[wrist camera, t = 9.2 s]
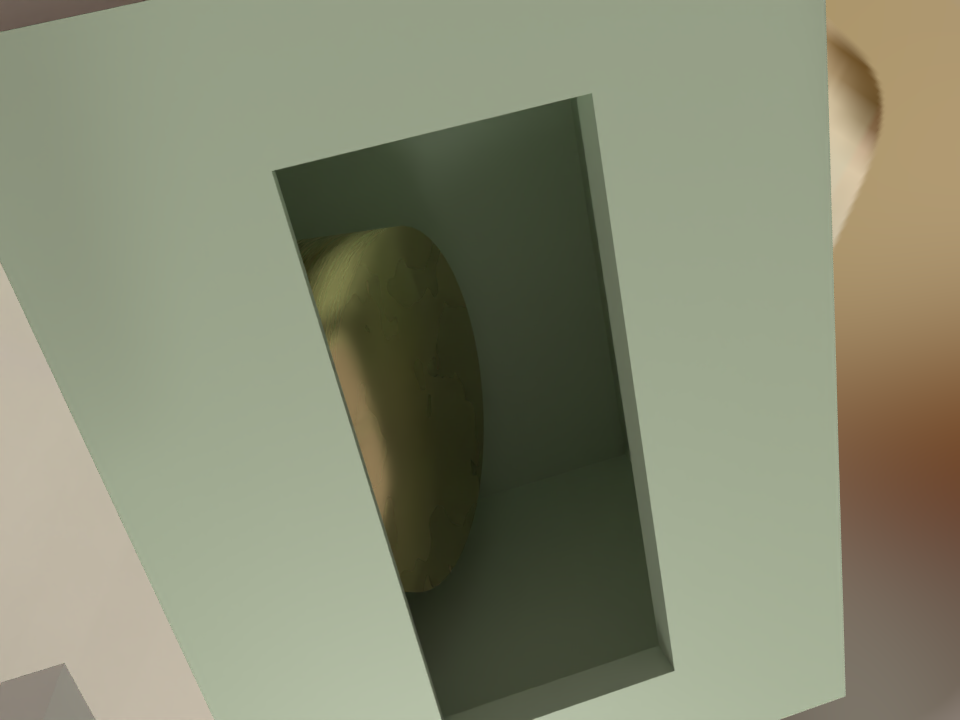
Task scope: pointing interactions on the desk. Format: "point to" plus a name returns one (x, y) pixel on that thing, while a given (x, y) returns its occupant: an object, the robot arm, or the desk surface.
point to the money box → (496, 327)
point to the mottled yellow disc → (406, 387)
